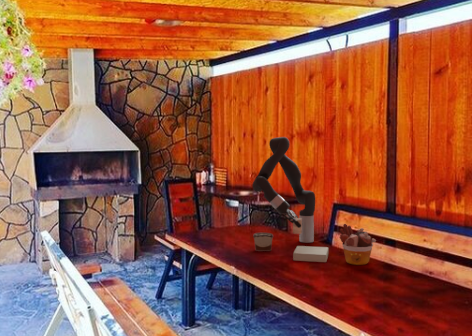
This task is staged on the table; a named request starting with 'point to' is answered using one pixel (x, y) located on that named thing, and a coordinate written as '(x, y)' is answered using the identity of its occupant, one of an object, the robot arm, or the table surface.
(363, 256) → the bucket of meat
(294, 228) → the birch block
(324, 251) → the base board
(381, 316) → the table surface
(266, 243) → the food container
